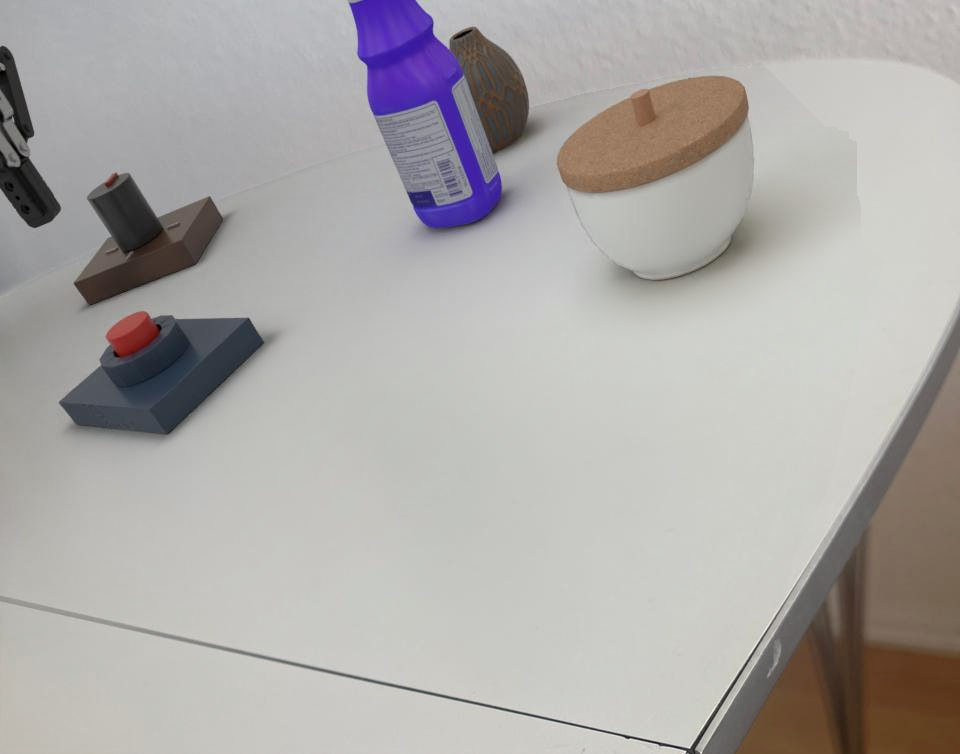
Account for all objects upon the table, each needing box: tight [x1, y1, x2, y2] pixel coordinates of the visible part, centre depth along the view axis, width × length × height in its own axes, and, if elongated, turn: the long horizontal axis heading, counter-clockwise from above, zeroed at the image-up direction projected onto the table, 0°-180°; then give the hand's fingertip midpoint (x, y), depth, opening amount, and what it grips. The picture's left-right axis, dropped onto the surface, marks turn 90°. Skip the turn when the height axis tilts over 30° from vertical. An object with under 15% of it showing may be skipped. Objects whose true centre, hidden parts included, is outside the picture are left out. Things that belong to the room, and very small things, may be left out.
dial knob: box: [86, 171, 163, 252], centre depth 97 cm, size 5×5×6 cm
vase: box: [448, 26, 530, 152], centre depth 83 cm, size 7×7×9 cm
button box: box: [58, 314, 265, 435], centre depth 76 cm, size 13×11×4 cm
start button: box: [105, 310, 160, 357], centre depth 74 cm, size 4×4×2 cm
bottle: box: [347, 0, 503, 229], centre depth 72 cm, size 7×6×17 cm
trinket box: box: [556, 75, 755, 281], centre depth 57 cm, size 11×11×9 cm
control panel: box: [73, 195, 224, 306], centre depth 100 cm, size 13×10×3 cm
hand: (47, 220), depth 69 cm, fingers closed
